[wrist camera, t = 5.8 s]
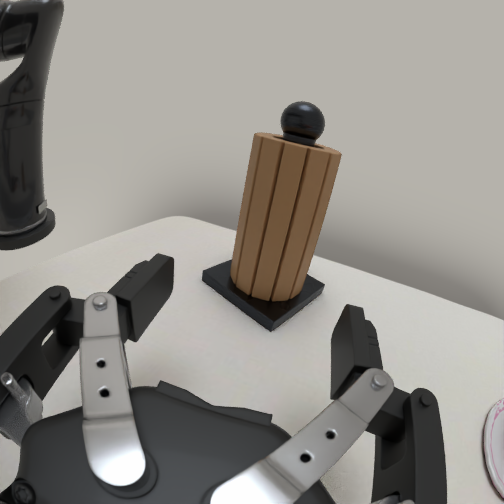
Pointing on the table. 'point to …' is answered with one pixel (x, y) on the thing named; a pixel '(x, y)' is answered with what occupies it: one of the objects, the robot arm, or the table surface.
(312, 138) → the towel stand
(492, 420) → the teacup
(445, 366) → the table surface
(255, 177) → the wooden grooved sleeve
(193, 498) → the robot arm
